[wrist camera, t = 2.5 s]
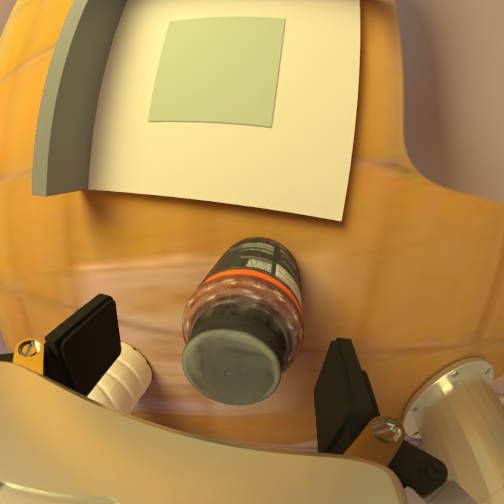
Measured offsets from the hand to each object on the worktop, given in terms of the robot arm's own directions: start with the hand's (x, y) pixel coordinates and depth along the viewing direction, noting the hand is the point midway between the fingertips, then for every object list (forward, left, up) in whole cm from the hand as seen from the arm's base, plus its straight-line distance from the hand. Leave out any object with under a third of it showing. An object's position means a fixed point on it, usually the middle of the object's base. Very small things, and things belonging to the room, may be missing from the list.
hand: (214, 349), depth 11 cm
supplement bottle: (-1, 0, -11) cm, 11 cm away
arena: (+5, -16, -10) cm, 19 cm away
